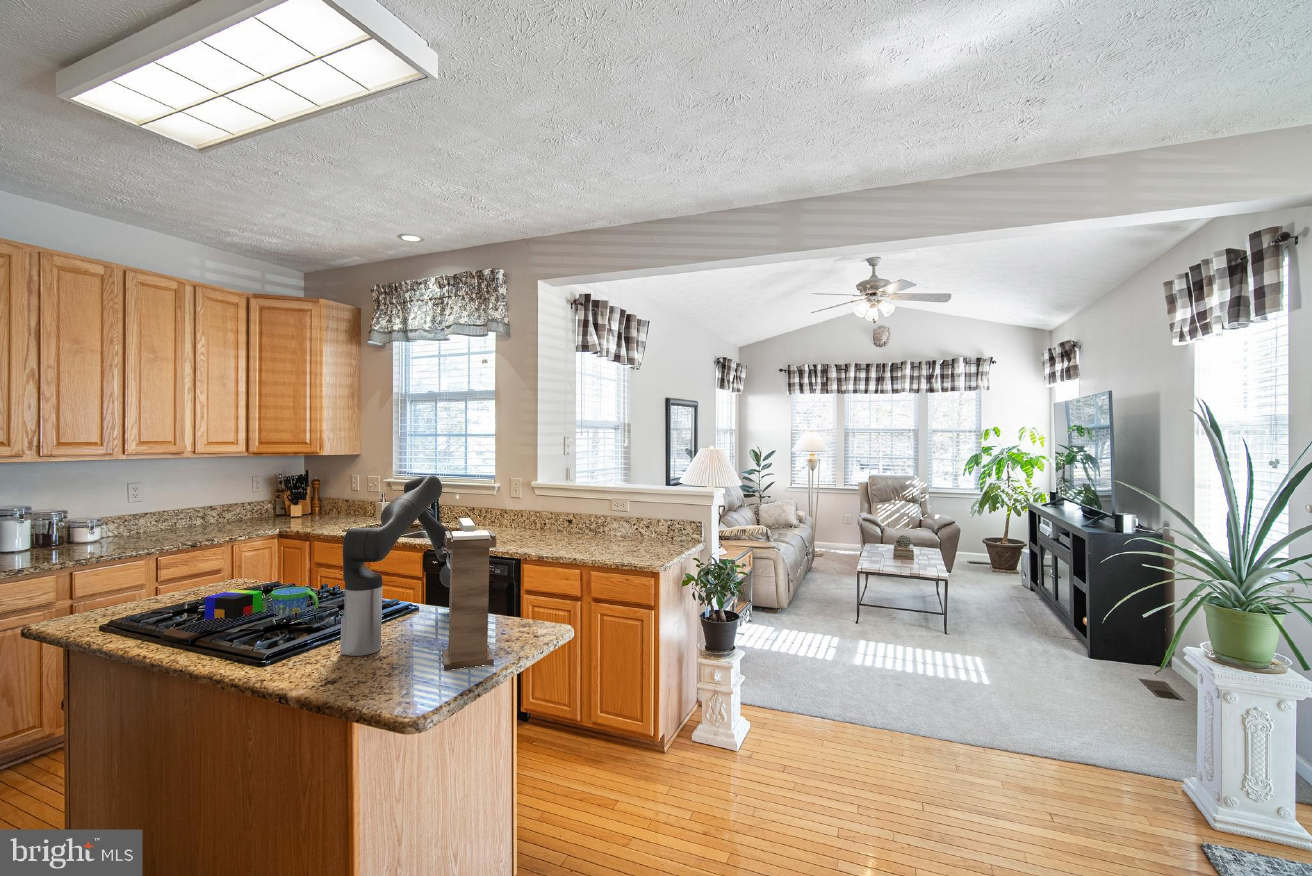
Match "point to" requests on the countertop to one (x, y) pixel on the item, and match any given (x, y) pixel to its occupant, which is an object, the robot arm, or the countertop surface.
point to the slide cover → (469, 531)
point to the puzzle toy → (233, 604)
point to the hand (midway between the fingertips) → (462, 538)
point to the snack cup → (289, 600)
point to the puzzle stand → (468, 603)
